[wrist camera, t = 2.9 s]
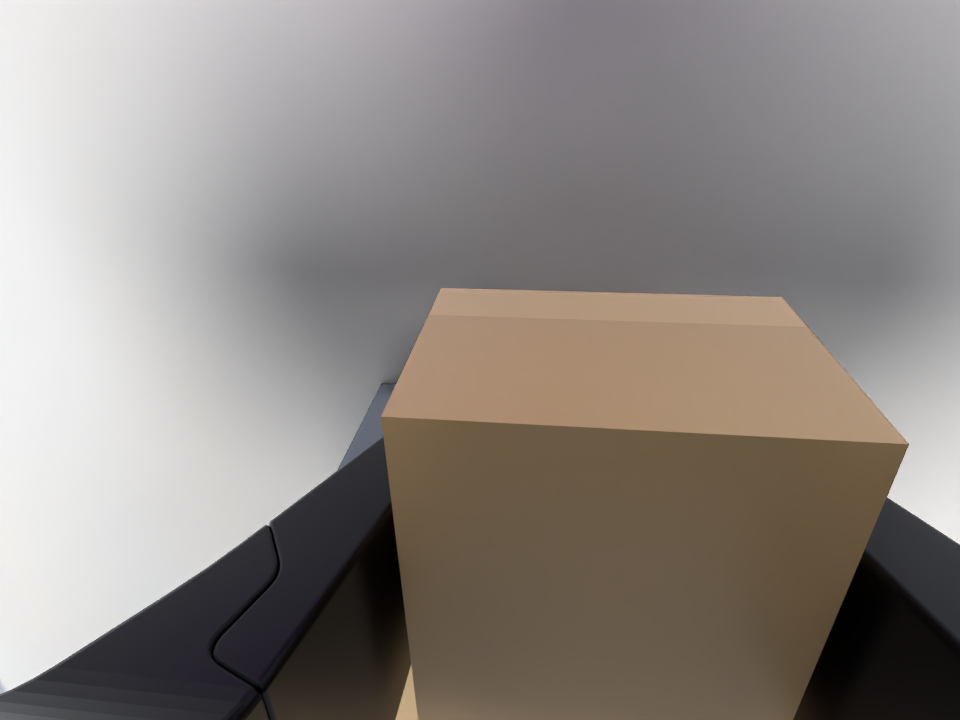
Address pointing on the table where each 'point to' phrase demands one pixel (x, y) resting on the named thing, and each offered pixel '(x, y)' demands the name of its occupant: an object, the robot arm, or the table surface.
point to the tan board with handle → (625, 505)
